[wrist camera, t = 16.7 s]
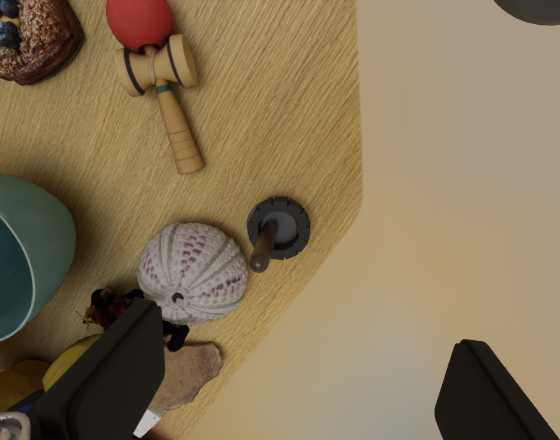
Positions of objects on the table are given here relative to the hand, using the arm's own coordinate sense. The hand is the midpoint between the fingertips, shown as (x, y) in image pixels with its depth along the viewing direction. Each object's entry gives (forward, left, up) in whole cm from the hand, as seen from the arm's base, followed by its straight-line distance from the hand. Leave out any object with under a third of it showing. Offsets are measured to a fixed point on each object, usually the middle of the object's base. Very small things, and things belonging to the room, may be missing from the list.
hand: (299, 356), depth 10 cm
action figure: (+16, +9, -18) cm, 26 cm away
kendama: (+12, -14, -28) cm, 33 cm away
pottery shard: (+17, +21, -27) cm, 38 cm away
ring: (+4, +4, -27) cm, 27 cm away
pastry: (+25, -24, -28) cm, 45 cm away
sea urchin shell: (+16, +7, -28) cm, 33 cm away
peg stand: (+5, +4, -28) cm, 29 cm away
